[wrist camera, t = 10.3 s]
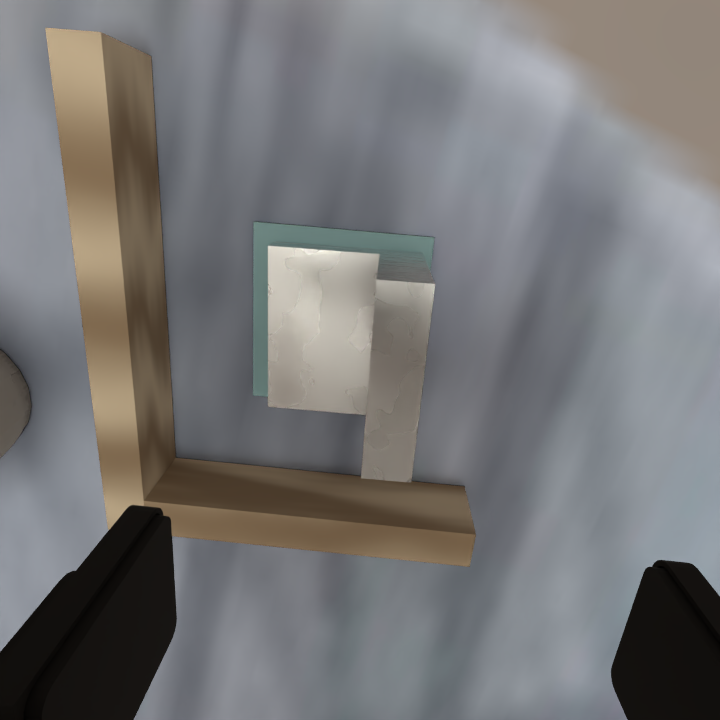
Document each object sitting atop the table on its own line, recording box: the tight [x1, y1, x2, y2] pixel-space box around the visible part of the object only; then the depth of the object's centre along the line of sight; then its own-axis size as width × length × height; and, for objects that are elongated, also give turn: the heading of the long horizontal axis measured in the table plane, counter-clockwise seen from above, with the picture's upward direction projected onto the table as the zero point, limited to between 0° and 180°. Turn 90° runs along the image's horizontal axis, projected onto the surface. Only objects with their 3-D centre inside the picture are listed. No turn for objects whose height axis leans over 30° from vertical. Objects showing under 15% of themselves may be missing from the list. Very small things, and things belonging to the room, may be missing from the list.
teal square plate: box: [253, 222, 434, 397], centre depth 25 cm, size 9×8×1 cm
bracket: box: [268, 241, 435, 483], centre depth 22 cm, size 8×7×7 cm
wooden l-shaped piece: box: [46, 28, 476, 567], centre depth 23 cm, size 22×18×4 cm
